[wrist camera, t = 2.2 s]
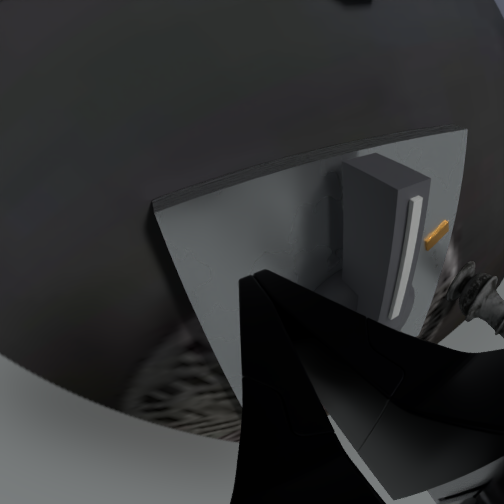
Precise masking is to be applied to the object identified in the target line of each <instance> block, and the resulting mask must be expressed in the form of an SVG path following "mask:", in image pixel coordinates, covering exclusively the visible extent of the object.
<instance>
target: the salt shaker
mask: <svg viewBox="0 0 504 504" xmlns="http://www.w3.org/2000/svg"><path fill="white" fill-rule="evenodd" d="M474 273H475V263H474V262H473V261H470V262H468V263H467V264H466V265H465V266H464V267H463V268H462V269H461V270H460V271H459V273H458V274H457V276H456V277H455V279H454V280H453V282H452V284H451V286H450V288H449V290H448V293H447V300H448V301H452V300H455V299H457V298H459V297H460V298H459V305H460V309H461V311H462V313H463V314H464V315H465V316H466V318H465V320H466V321H467V322H469V321H471V320H472V319H473V318H477V317H479V318H480V319H483V320H484V321H486V322H487V323H488V324H489V325H490V326H491V327H492V328H493V329H494V330H495V332H496V333H495V335H497V334H500V335H501V336H502V337H503V338H504V300H503V299H502V298H501V297H500V296H499V294H498V293H497V291H496V284H497V277H496V276H494V277H492V276H491V275H489V274H485V273H479V274H476V275H474Z"/></svg>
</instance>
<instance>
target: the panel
mask: <svg viewBox="0 0 504 504" xmlns="http://www.w3.org/2000/svg"><path fill="white" fill-rule="evenodd" d="M467 130H468V129H465V128H463V127H460V126H457V125H454V124H449V125H442V126H434V127H428V128H421V129H415V130H409V131H403V132H397V133H392V134H386V135H381V136H376V137H371V138H366V139H361V140H356V141H352V142H347V143H343V144H338V145H334V146H330V147H325V148H321V149H317V150H313V151H309V152H305V153H301V154H297V155H293V156H289V157H286V158H282V159H278V160H275V161H271V162H267V163H264V164H260V165H257V166H254V167H250V168H247V169H243V170H240V171H237V172H234V173H230V174H227V175H224V176H221V177H218V178H214V179H211V180H208V181H205V182H202V183H199V184H196V185H193V186H190V187H187V188H185V189H182V190H179V191H176V192H173V193H170V194H168V195H165V196H162V197H159V198H157V199H154V200H152V203H153V209H154V213H155V216H156V219H157V221H158V224H159V227H160V229H161V232H162V234H163V237H164V240H165V242H166V245H167V247H168V250H169V252H170V255H171V257H172V260H173V262H174V264H175V267H176V269H177V272H178V274H179V276H180V279H181V281H182V283H183V286H184V288H185V290H186V293H187V295H188V297H189V300H190V302H191V304H192V306H193V309H194V311H195V313H196V315H197V317H198V320H199V322H200V324H201V326H202V328H203V330H204V333H205V335H206V337H207V339H208V341H209V343H210V345H211V347H212V349H213V351H214V353H215V356H216V358H217V360H218V362H219V364H220V366H221V368H222V370H223V372H224V374H225V376H226V378H227V379H228V381H229V383H230V385H231V387H232V389H233V391H234V393H235V395H236V397H237V399H238V401H239V402H240V404H241V406H242V369H241V344H240V317H239V286H238V281H239V279H240V278H243V277H245V276H248V275H253V274H254V273H256V272H258V271H261V270H263V269H268V270H270V271H272V272H274V273H276V274H278V275H280V276H283V277H285V278H287V279H289V280H291V281H293V282H295V283H297V284H299V285H301V286H303V287H305V288H308V289H310V290H312V291H314V290H315V289H316V287H318V286H319V285H320V284H321V283H322V282H323V281H324V280H326V279H327V278H328V277H330V276H331V275H332V274H334V273H335V272H337V271H338V270H340V269H342V266H343V169H342V161H345V160H348V159H352V158H356V157H360V156H364V155H368V154H372V153H378V154H380V155H382V156H385V157H387V158H389V159H392V160H394V161H396V162H398V163H400V164H403V165H405V166H407V167H409V168H411V169H413V170H415V171H417V172H419V173H421V174H423V175H425V176H427V177H429V178H431V184H430V192H429V199H428V206H427V213H426V219H425V225H424V231H423V236H422V241H421V246H420V251H419V256H418V260H417V265H416V269H415V273H414V277H413V281H412V286H413V288H414V292H415V298H414V304H413V307H412V310H411V313H410V315H409V317H408V319H407V321H406V322H405V324H404V326H403V327H402V329H401V330H400V331H401V332H403V333H406V334H409V335H411V336H414V337H416V336H418V335H419V333H420V331H421V328H422V326H423V323H424V320H425V318H426V315H427V312H428V310H429V307H430V304H431V301H432V299H433V296H434V293H435V290H436V287H437V284H438V281H439V277H440V274H441V271H442V267H443V264H444V261H445V257H446V253H447V250H448V246H449V242H450V238H451V234H452V229H453V225H454V221H455V216H456V211H457V206H458V201H459V195H460V189H461V183H462V177H463V169H464V162H465V153H466V142H467Z"/></svg>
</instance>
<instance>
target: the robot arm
mask: <svg viewBox="0 0 504 504" xmlns="http://www.w3.org/2000/svg"><path fill="white" fill-rule="evenodd" d="M238 286H239V317H240V344H241V369H242V421H241V433H240V442H239V451H238V460H237V469H236V477H235V483H234V489H233V493H232V498H231V502H230V504H386V503H385V502H384V501H383V500H382V498H381V497H380V496H379V495H378V493H377V492H376V491H375V490H374V488H373V487H372V486H371V485H370V483H369V482H368V481H367V480H366V478H365V477H364V476H363V474H362V473H361V472H360V471H359V469H358V468H357V467H356V466H355V464H354V463H353V462H352V461H351V459H350V458H349V456H348V455H347V454H346V452H345V451H344V449H343V447H342V445H341V443H340V441H339V440H338V438H337V436H336V434H335V433H334V429H333V427H332V425H331V423H330V421H329V419H328V417H327V414H326V412H325V410H324V408H323V406H324V407H325V408H326V410H327V411H328V413H329V414H330V415H331V417H332V418H333V420H334V421H335V422H336V424H337V425H338V427H339V428H340V429H341V430H342V432H343V433H344V435H345V436H346V438H347V439H348V440H349V442H350V443H351V444H352V446H353V447H354V449H355V450H356V451H357V452H358V454H359V455H360V457H361V458H362V459H363V461H364V462H365V464H366V465H367V466H368V467H369V469H370V470H371V471H372V473H373V474H374V476H375V477H376V478H377V479H378V481H379V482H380V483H381V485H382V486H383V487H384V489H385V490H386V491H387V493H388V494H389V495H390V496H391V498H392V499H393V500H397V499H401V498H404V497H408V496H411V495H414V494H417V493H420V492H423V491H426V490H427V491H428V492H429V494H430V495H431V497H432V498H433V499H434V501H435V502H436V504H504V349H501V350H495V351H488V352H481V353H466V352H461V351H457V350H453V349H450V348H447V347H444V346H441V345H438V344H435V343H432V342H429V341H426V340H423V339H420V338H417V337H414V336H411V335H409V334H406V333H403V332H401V331H398V330H395V329H393V328H391V327H388V326H386V325H384V324H382V323H379V322H377V321H375V320H373V319H371V318H369V317H368V318H367V319H366V316H364V315H362V314H360V313H358V312H356V311H354V310H352V309H349V308H347V307H345V306H343V305H341V304H339V303H337V302H335V301H333V300H331V299H328V298H326V297H324V296H322V295H320V294H318V293H316V292H314V291H312V290H310V289H308V288H305V287H303V286H301V285H299V284H297V283H295V282H293V281H291V280H289V279H287V278H285V277H283V276H280V275H278V274H276V273H274V272H272V271H270V270H268V269H263V270H261V271H258V272H256V273H254V274H253V275H248V276H245V277H243V278H240V279H239V281H238ZM320 401H321V402H320ZM321 403H322V404H323V406H322V404H321Z"/></svg>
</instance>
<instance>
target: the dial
mask: <svg viewBox="0 0 504 504" xmlns="http://www.w3.org/2000/svg"><path fill="white" fill-rule="evenodd" d="M342 169H343V266H342V269H340V270H338V271H337V272H335V273H334V274H332V275H331V276H330V277H328V278H327V279H326V280H324V281H323V282H322V283H321V284H320V285H319V286H318V287H316V289H315V290H314V292H316V293H318V294H320V295H322V296H324V297H326V298H328V299H331V300H333V301H335V302H337V303H339V304H341V305H343V306H345V307H347V308H349V309H352V310H354V311H356V312H358V313H360V314H362V315H364V316H366V319H367V318H368V317H369V318H371V319H373V320H375V321H377V322H379V323H382V324H384V325H386V326H388V327H391V328H393V329H395V330H398V331H400V330H401V329H402V327H403V326H404V324H405V322H406V321H407V319H408V317H409V315H410V313H411V310H412V307H413V304H414V298H415V292H414V288H413V286H412V281H413V277H414V273H415V269H416V265H417V260H418V256H419V251H420V246H421V241H422V236H423V231H424V225H425V219H426V213H427V206H428V199H429V192H430V184H431V178H429V177H427V176H425V175H423V174H421V173H419V172H417V171H415V170H413V169H411V168H409V167H407V166H405V165H403V164H400V163H398V162H396V161H394V160H392V159H389V158H387V157H385V156H382V155H380V154H378V153H372V154H368V155H364V156H360V157H356V158H352V159H348V160H345V161H342Z"/></svg>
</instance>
